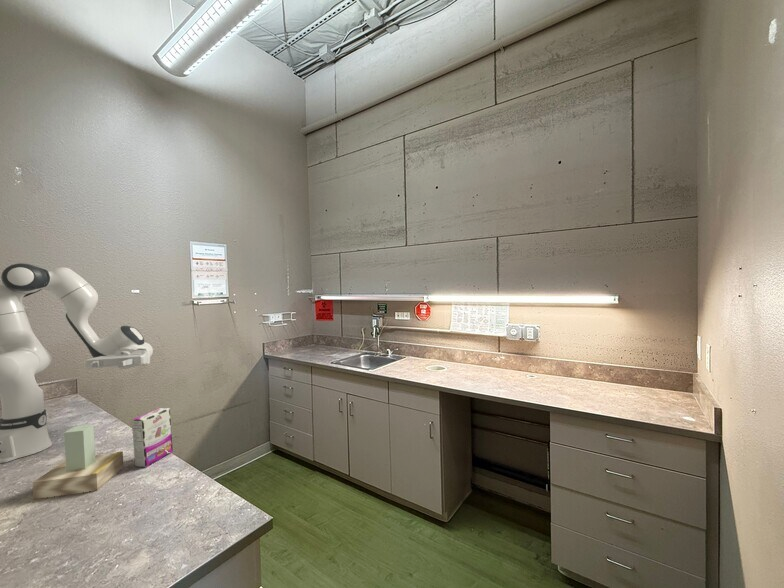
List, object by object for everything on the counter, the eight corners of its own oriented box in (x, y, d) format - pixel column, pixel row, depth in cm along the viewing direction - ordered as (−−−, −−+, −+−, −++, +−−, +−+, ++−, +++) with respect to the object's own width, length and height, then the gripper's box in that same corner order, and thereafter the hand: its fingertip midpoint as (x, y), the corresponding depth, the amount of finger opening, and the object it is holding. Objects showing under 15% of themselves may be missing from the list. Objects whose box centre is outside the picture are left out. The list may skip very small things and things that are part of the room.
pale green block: (66, 471, 104) (64, 432, 104) (77, 463, 109) (75, 426, 109) (85, 468, 105) (83, 430, 105) (95, 460, 110) (93, 424, 110)
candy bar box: (161, 451, 126) (159, 407, 126) (173, 452, 125) (171, 407, 125) (133, 467, 115) (130, 419, 115) (145, 468, 114) (143, 419, 114)
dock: (33, 499, 99) (32, 481, 98) (68, 473, 112) (67, 458, 112) (97, 490, 102) (96, 473, 102) (123, 466, 116) (122, 451, 116)
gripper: (97, 352, 141) (74, 358, 128) (153, 348, 146) (136, 354, 132) (98, 367, 141) (75, 375, 128) (154, 363, 146) (137, 370, 132)
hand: (106, 364), depth 130 cm, fingers open, 8 cm apart
